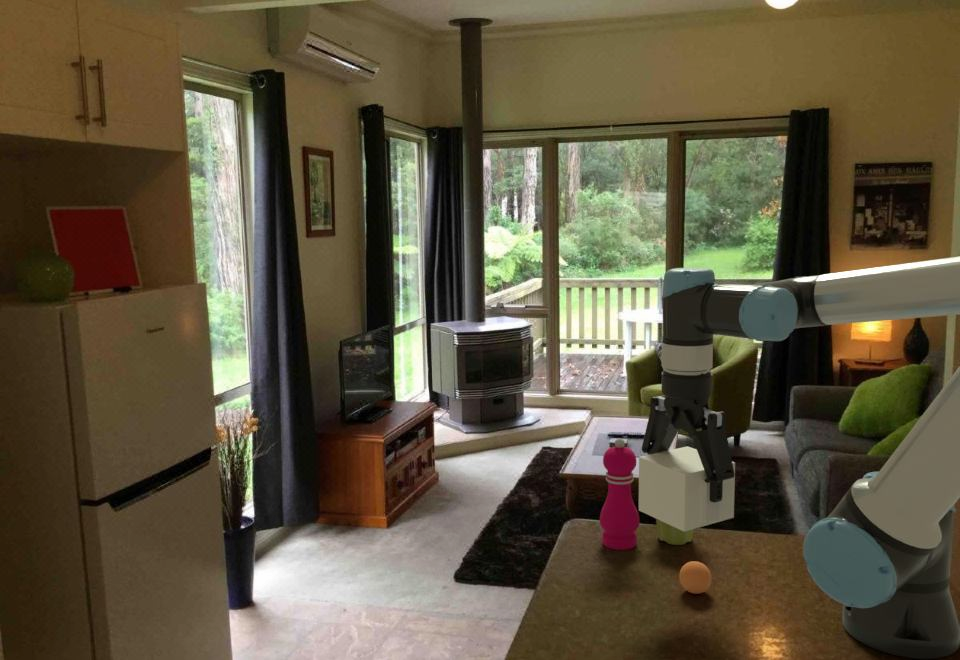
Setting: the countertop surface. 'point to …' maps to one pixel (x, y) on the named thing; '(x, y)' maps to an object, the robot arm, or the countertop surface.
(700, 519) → the cream cuboid
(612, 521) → the pepper mill
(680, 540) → the plant pot
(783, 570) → the countertop surface
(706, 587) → the ball
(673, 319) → the robot arm
